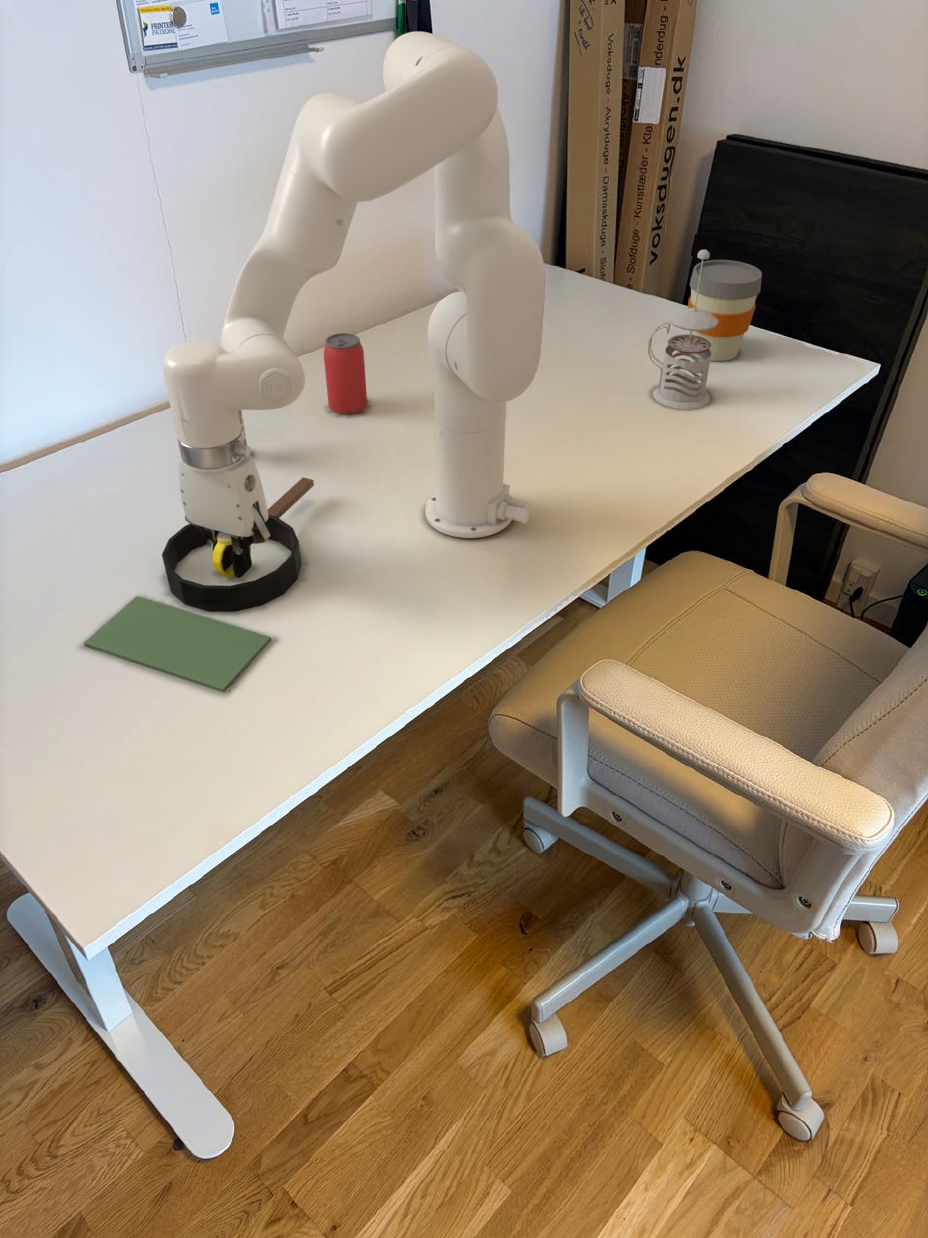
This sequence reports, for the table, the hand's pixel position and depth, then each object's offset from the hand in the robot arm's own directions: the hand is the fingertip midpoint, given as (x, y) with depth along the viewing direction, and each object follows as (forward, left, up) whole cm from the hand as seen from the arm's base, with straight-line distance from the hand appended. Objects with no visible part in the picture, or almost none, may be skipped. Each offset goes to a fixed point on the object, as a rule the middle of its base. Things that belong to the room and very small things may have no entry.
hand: (234, 568), depth 126 cm
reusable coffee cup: (-43, -95, -1) cm, 104 cm away
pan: (0, -5, 0) cm, 5 cm away
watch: (0, 0, -1) cm, 1 cm away
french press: (-41, -74, -1) cm, 85 cm away
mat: (-2, +15, 0) cm, 15 cm away
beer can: (+9, -47, -1) cm, 48 cm away
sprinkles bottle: (+17, -25, -1) cm, 30 cm away
